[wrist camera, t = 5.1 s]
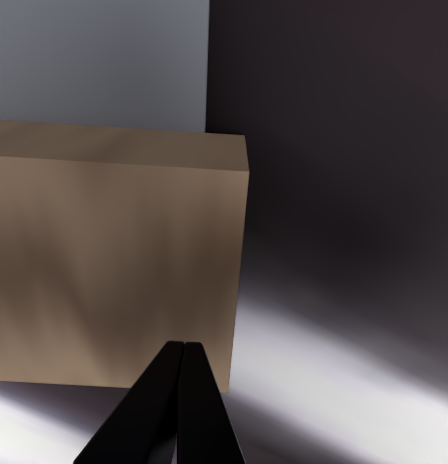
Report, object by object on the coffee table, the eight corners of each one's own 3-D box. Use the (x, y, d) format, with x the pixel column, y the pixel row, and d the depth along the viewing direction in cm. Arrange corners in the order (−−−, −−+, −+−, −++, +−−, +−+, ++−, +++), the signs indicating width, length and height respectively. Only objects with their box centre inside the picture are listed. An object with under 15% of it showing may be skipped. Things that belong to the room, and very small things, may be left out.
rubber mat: (197, 375, 18) (196, 381, 18) (-47, 361, 18) (-53, 368, 17) (209, -13, 10) (209, -15, 10) (-218, -42, 10) (-235, -45, 10)
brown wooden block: (228, 393, 12) (-35, 378, 12) (228, 320, 16) (20, 308, 16) (249, 171, 9) (-131, 147, 9) (244, 135, 12) (-33, 117, 12)
